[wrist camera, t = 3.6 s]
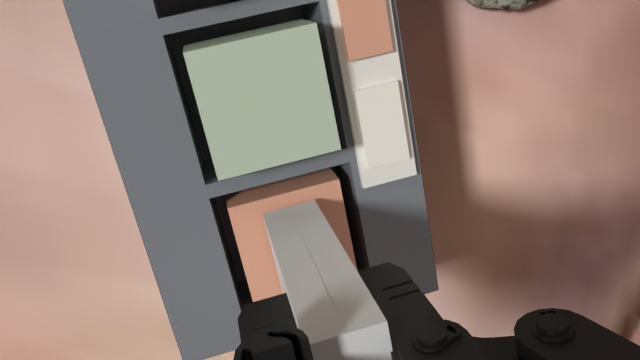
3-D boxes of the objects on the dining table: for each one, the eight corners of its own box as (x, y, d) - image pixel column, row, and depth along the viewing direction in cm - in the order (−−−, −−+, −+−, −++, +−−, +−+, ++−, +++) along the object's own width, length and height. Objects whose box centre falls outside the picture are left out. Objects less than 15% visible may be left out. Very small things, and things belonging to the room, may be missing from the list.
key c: (223, 186, 18) (227, 208, 16) (324, 160, 18) (338, 179, 17) (248, 276, 19) (254, 307, 17) (342, 250, 20) (358, 277, 18)
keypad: (37, -154, 16) (-8, -196, 12) (326, -205, 17) (363, -257, 13) (185, 307, 21) (184, 373, 17) (402, 245, 22) (443, 295, 18)
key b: (183, 45, 15) (182, 52, 14) (301, 18, 16) (316, 22, 14) (215, 159, 17) (217, 181, 15) (324, 132, 17) (341, 149, 15)
